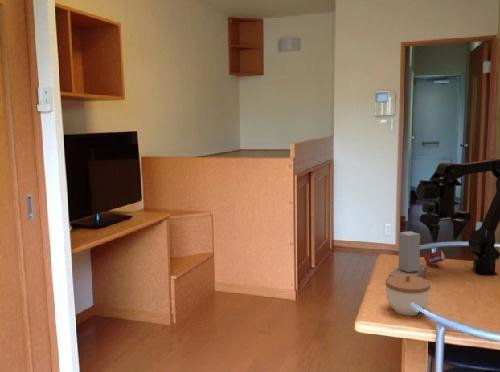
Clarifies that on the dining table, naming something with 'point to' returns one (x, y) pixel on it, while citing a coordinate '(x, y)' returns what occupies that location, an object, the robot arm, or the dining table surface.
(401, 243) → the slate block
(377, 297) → the dining table surface
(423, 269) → the brick
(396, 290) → the lidded bowl
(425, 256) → the geometric puzzle
